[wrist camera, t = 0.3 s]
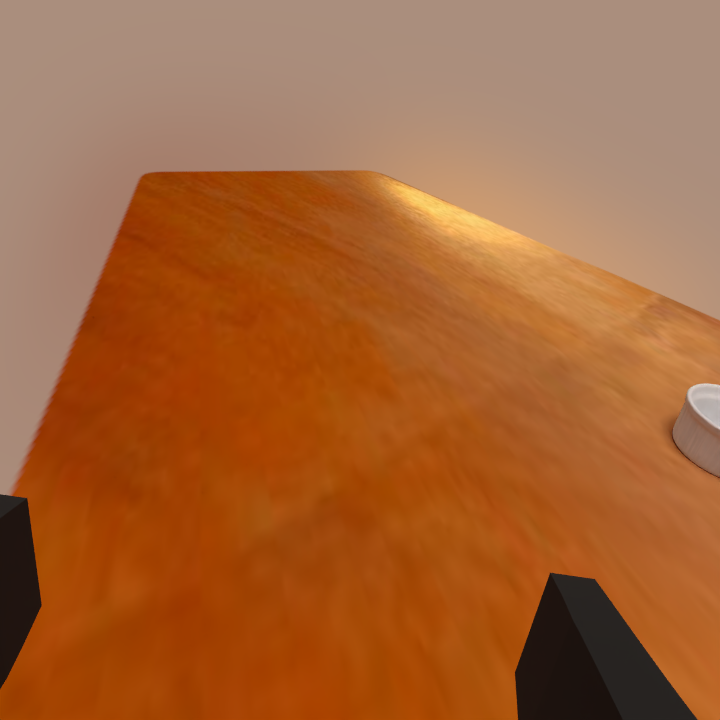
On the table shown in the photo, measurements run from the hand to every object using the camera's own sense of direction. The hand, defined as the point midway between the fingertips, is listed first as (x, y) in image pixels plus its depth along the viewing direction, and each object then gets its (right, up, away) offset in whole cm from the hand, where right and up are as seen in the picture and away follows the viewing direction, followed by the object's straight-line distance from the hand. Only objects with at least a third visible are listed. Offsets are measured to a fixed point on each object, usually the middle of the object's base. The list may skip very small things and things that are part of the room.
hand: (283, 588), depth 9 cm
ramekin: (+31, -5, +47) cm, 57 cm away
